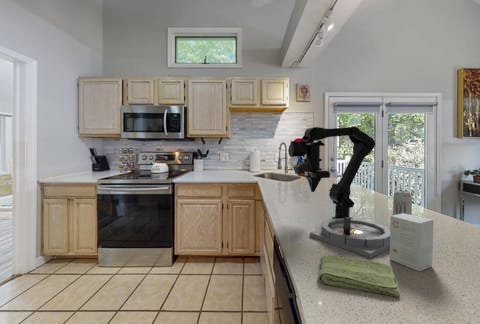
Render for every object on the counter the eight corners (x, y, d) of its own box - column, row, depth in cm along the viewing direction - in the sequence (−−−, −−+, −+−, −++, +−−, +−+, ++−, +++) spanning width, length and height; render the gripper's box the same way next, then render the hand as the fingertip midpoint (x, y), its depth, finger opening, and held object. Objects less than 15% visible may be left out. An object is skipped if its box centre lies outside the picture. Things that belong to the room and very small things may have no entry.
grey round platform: (343, 224, 102) (344, 214, 102) (402, 240, 84) (403, 228, 84) (309, 236, 90) (309, 224, 89) (370, 258, 72) (370, 244, 71)
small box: (432, 266, 66) (434, 219, 66) (419, 272, 64) (420, 223, 63) (401, 255, 74) (403, 212, 73) (388, 259, 71) (389, 215, 70)
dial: (341, 223, 99) (341, 205, 98) (388, 233, 87) (388, 213, 86) (321, 234, 87) (322, 214, 87) (372, 247, 75) (373, 224, 75)
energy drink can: (390, 230, 95) (392, 192, 94) (394, 226, 100) (395, 189, 99) (409, 233, 91) (410, 194, 90) (412, 229, 96) (413, 191, 95)
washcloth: (403, 302, 52) (404, 287, 52) (317, 286, 59) (317, 273, 59) (390, 272, 65) (390, 260, 64) (320, 261, 71) (320, 251, 71)
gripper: (287, 156, 114) (287, 189, 115) (304, 157, 96) (304, 197, 97) (309, 155, 116) (309, 188, 117) (331, 157, 98) (330, 195, 99)
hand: (312, 191), depth 107 cm, fingers closed
